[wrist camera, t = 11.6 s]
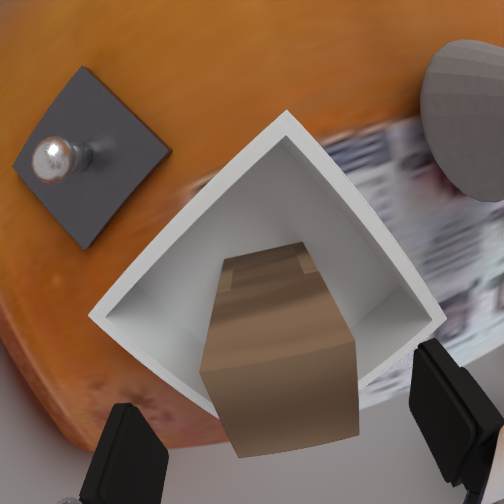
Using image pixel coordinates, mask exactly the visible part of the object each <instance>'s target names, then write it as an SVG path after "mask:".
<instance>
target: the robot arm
mask: <svg viewBox="0 0 504 504" xmlns="http://www.w3.org/2000/svg"><path fill="white" fill-rule="evenodd" d="M409 408H410V411H411V412H412V415H413V417H414V419H415V420H416V423H417V425H418V427H419V428H420V430H421V432H422V434H423V436H424V438H425V440H426V442H427V444H428V447H429V448H430V451H431V452H432V455H433V457H434V459H435V461H436V463H437V465H438V467H439V469H440V472H441V474H442V476H443V478H444V480H445V481H446V482H447V483H449V482H451V484H452V486H453V487H456V486H458V485H460V484H462V483H463V484H464V486H465V488H466V490H467V494H466V497H465V499H464V502H463V504H504V418H503V417H502V416H501V414H500V413H499V411H498V410H497V409H496V407H495V406H494V404H493V403H492V402H491V400H490V399H489V398H488V397H487V395H486V394H485V392H484V391H483V390H482V389H481V387H480V386H479V385H478V383H477V382H476V381H475V379H474V378H473V377H472V376H471V374H470V373H469V372H468V371H467V370H466V369H465V368H464V367H459V366H458V365H457V363H456V362H455V361H454V360H453V358H452V357H451V356H450V355H449V353H448V352H447V351H446V350H445V348H444V347H443V346H442V345H441V344H440V342H439V341H438V340H437V339H436V338H433V339H430V340H428V341H425V342H422V343H420V344H419V345H418V349H415V350H414V357H413V369H412V379H411V388H410V396H409ZM168 460H169V455H168V451H167V449H166V448H165V446H164V445H163V443H162V442H161V441H160V439H159V438H158V437H157V435H156V434H155V432H154V431H153V430H152V428H151V427H150V425H149V424H148V422H147V421H146V420H145V418H144V417H143V415H142V414H141V412H140V411H139V409H138V408H137V407H134V406H133V405H132V404H131V403H116V404H114V406H113V407H112V410H111V412H110V415H109V417H108V420H107V422H106V425H105V427H104V430H103V432H102V435H101V437H100V440H99V442H98V445H97V448H96V450H95V453H94V456H93V458H92V461H91V464H90V466H89V469H88V472H87V474H86V477H85V480H84V483H83V486H82V489H81V491H80V495H79V496H80V499H79V500H77V499H75V498H65V499H62V500H61V501H59V502H58V503H57V504H161V498H162V492H163V486H164V480H165V476H166V470H167V465H168Z"/></svg>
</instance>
